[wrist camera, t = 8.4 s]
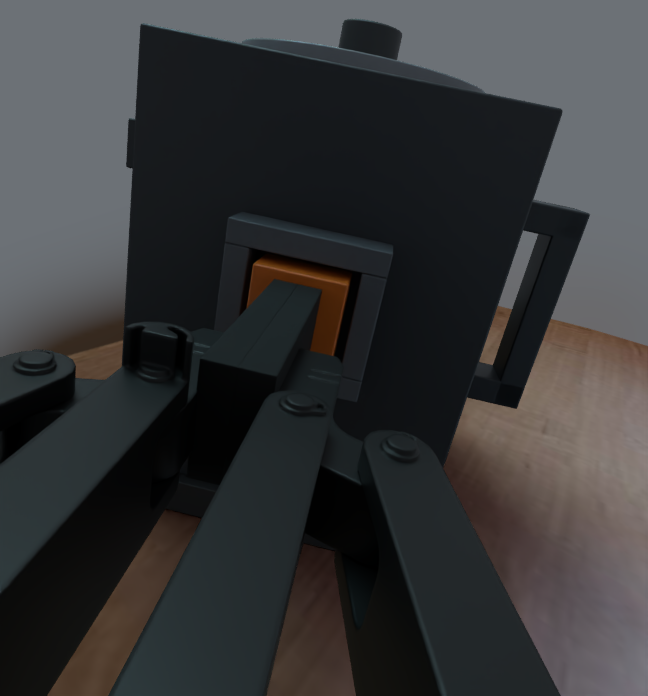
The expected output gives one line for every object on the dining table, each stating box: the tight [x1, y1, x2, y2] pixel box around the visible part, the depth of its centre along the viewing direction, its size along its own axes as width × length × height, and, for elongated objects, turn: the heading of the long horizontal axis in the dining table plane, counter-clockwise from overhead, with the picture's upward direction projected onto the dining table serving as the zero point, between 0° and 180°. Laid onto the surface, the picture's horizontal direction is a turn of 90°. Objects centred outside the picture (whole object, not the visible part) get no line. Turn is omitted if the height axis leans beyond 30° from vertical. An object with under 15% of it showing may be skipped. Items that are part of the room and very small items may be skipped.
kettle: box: [122, 19, 590, 551], centre depth 24 cm, size 20×15×20 cm
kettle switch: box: [247, 253, 353, 356], centre depth 17 cm, size 3×2×3 cm, turn 83°
